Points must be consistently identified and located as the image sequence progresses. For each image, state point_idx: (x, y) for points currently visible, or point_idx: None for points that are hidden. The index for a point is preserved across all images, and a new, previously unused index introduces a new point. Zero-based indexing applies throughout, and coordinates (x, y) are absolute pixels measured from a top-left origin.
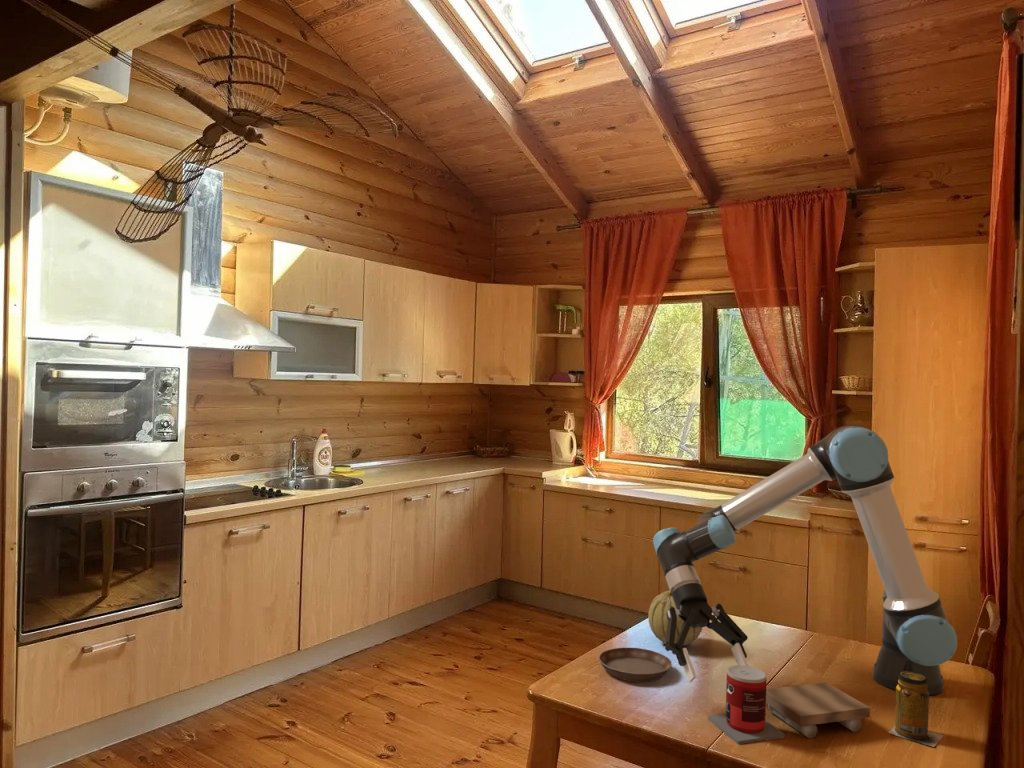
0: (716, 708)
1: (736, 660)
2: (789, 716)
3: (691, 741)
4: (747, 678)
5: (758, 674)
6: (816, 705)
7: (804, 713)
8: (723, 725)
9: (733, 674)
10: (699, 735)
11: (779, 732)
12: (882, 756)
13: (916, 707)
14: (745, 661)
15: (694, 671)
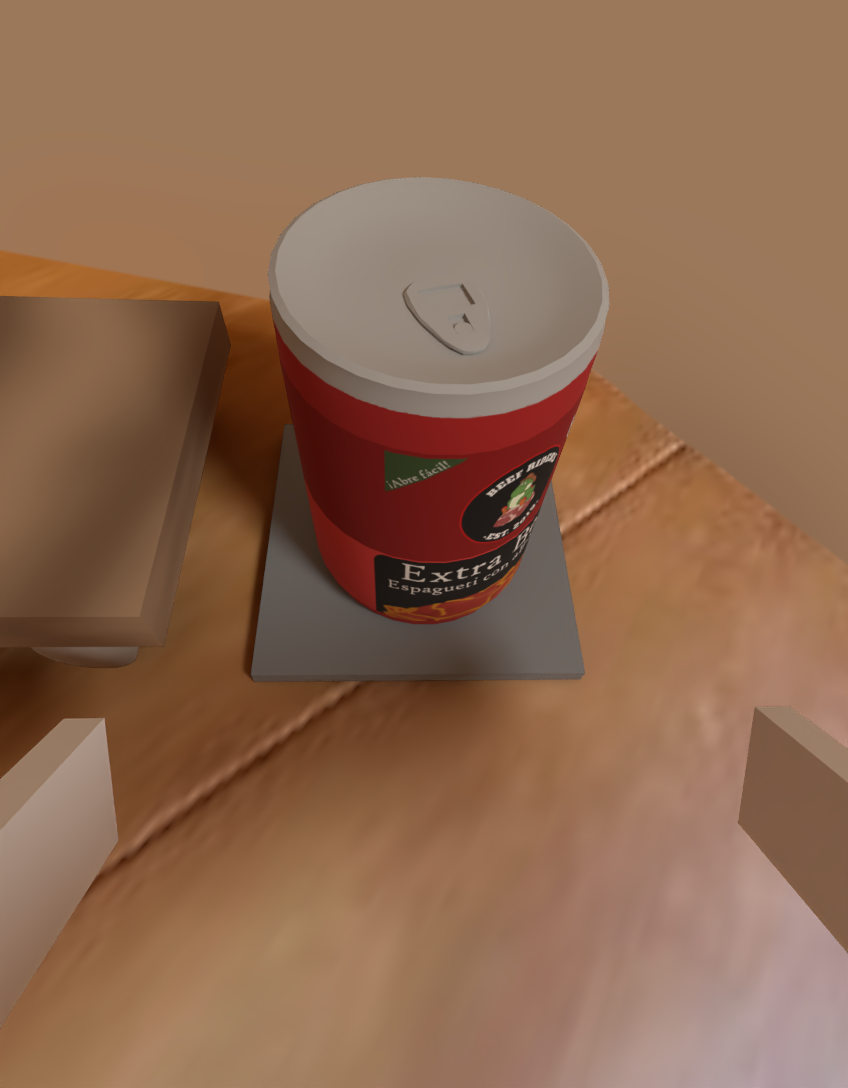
0: (448, 812)
1: (8, 1001)
2: (215, 396)
3: (748, 499)
4: (483, 232)
5: (337, 257)
6: (4, 361)
7: (170, 316)
8: (541, 556)
9: (580, 271)
10: (692, 535)
11: (295, 443)
12: (36, 271)
13: None
14: (12, 786)
15: (795, 737)
